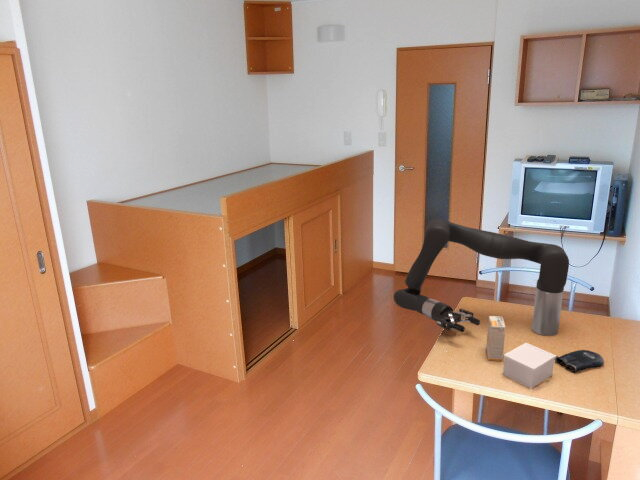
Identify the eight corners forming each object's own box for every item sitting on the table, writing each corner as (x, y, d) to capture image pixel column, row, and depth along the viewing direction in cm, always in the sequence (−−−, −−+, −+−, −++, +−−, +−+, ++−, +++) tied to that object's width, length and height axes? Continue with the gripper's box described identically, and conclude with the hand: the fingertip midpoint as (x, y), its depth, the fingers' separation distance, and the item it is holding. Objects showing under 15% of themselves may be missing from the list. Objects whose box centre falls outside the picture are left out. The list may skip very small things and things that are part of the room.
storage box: (523, 361, 168) (526, 342, 166) (553, 375, 160) (556, 355, 158) (501, 374, 161) (503, 354, 159) (531, 389, 153) (534, 369, 151)
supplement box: (503, 361, 168) (506, 327, 164) (488, 360, 169) (491, 326, 165) (499, 349, 176) (502, 316, 172) (485, 348, 177) (488, 315, 173)
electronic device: (576, 380, 160) (610, 364, 164) (575, 365, 158) (609, 349, 163) (553, 369, 168) (586, 354, 173) (552, 355, 167) (585, 340, 172)
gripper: (424, 307, 185) (459, 322, 173) (449, 297, 193) (484, 311, 181) (423, 325, 188) (458, 341, 175) (448, 314, 196) (483, 329, 183)
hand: (471, 326), depth 178 cm, fingers open, 8 cm apart
